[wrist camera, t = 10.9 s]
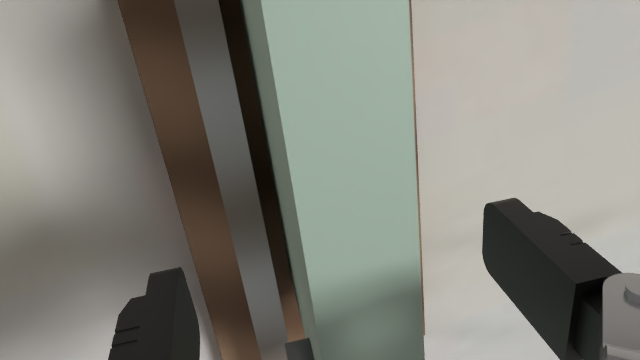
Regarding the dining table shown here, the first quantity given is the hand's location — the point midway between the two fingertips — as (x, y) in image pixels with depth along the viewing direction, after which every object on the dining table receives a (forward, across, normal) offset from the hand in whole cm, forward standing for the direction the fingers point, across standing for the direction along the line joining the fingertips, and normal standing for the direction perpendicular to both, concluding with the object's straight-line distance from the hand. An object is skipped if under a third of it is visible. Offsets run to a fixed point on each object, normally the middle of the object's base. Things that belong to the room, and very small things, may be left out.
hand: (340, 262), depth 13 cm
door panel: (+8, 0, -1) cm, 8 cm away
